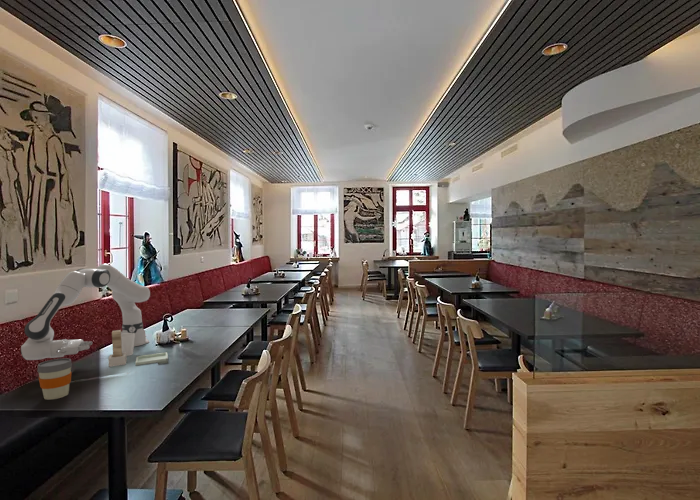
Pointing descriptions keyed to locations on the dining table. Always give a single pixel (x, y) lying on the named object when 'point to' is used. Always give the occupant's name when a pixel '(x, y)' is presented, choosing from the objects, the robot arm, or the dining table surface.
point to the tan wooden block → (116, 343)
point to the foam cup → (127, 343)
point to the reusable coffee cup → (55, 377)
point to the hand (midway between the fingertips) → (90, 345)
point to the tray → (152, 359)
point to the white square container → (117, 360)
